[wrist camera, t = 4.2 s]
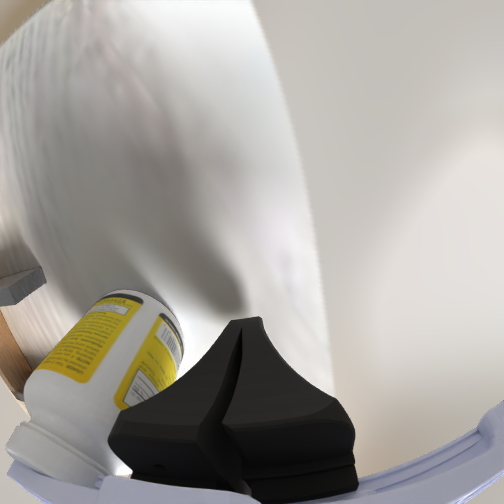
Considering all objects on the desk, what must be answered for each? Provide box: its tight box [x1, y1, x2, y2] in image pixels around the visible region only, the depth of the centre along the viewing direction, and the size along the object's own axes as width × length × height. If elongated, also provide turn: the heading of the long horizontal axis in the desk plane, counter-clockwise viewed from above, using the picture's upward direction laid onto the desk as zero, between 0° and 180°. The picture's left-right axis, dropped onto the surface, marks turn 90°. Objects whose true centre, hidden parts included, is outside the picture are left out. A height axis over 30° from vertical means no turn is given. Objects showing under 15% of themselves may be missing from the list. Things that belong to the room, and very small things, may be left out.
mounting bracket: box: [0, 267, 46, 402], centre depth 12 cm, size 9×9×3 cm
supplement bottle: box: [5, 290, 185, 489], centre depth 8 cm, size 5×5×10 cm
